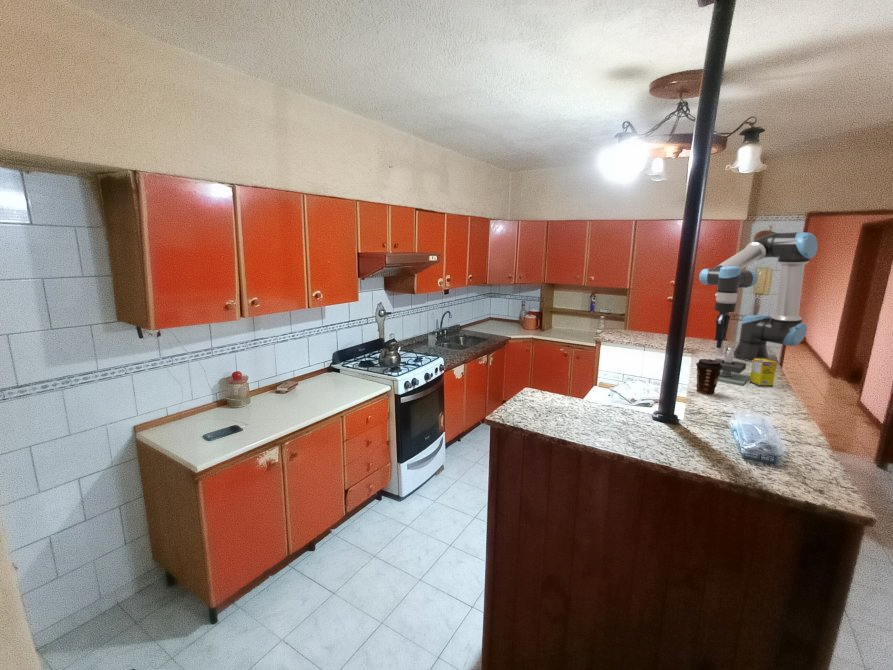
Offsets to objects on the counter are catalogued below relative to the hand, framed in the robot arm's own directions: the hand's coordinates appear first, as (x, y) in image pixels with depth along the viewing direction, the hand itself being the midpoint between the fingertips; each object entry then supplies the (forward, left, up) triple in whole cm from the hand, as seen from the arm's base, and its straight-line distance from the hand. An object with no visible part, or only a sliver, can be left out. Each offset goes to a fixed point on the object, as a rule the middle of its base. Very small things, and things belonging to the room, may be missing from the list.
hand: (718, 354), depth 188 cm
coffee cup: (+29, +4, -10) cm, 31 cm away
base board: (0, +4, -10) cm, 11 cm away
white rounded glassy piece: (0, +4, -9) cm, 10 cm away
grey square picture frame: (0, +4, -6) cm, 7 cm away
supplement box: (0, +17, -10) cm, 20 cm away
